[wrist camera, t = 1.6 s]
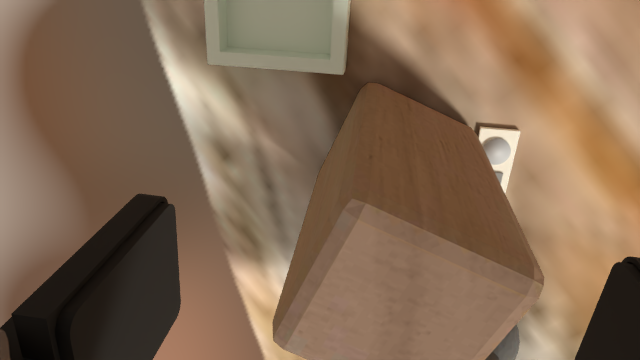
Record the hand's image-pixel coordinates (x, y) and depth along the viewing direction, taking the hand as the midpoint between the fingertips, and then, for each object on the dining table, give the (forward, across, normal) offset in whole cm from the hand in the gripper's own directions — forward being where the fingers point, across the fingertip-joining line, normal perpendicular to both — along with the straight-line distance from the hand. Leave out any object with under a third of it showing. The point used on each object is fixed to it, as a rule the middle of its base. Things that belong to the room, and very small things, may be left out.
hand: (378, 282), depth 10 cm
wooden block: (+29, -2, +8) cm, 30 cm away
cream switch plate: (+29, -10, +8) cm, 32 cm away
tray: (+29, +8, -3) cm, 30 cm away
